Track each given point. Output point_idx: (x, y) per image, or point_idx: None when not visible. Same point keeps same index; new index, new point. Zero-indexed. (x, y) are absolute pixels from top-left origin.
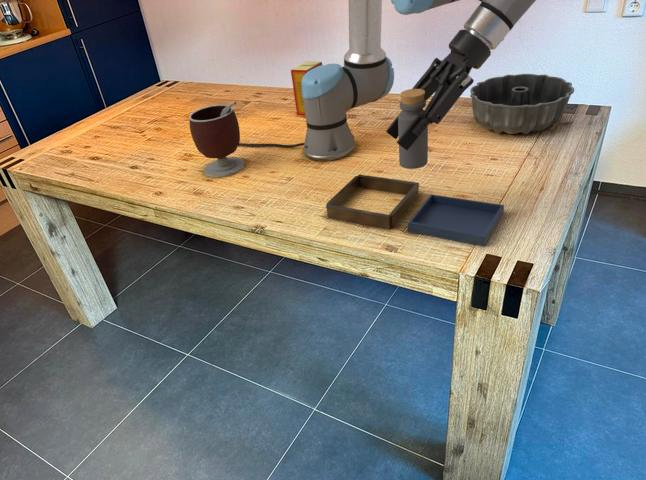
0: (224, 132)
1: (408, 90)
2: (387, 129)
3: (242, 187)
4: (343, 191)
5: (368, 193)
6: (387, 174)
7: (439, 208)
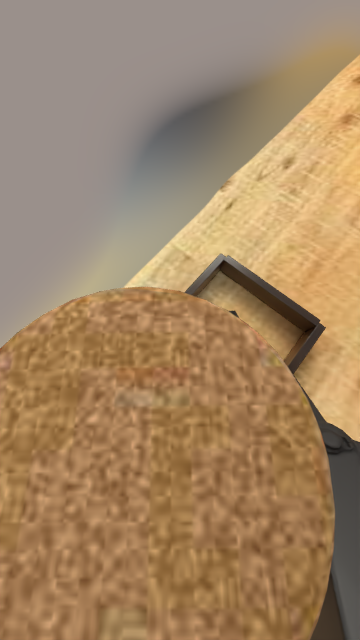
0: None
1: (266, 443)
2: (235, 315)
3: (353, 168)
4: (262, 287)
5: (278, 341)
6: (348, 395)
7: None
